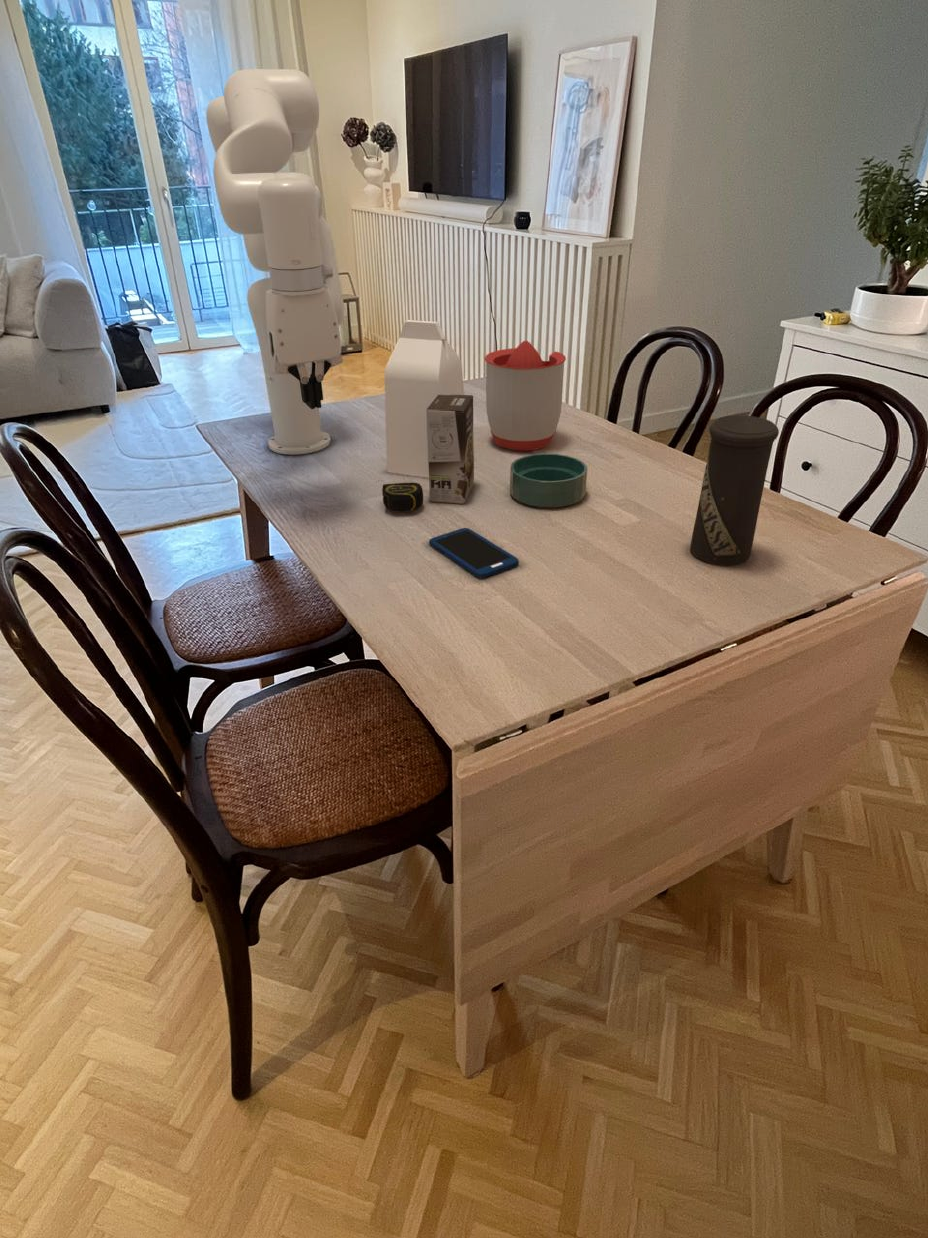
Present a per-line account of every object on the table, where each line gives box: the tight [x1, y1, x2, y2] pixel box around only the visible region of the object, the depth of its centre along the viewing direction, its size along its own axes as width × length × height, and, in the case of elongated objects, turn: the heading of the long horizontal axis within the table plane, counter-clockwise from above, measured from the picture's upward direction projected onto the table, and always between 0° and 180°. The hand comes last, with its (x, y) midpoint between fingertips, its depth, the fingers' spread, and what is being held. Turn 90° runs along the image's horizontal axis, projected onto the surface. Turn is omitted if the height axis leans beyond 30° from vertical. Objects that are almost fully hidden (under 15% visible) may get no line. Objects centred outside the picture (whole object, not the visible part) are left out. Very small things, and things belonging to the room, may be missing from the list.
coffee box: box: [426, 394, 475, 505], centre depth 124 cm, size 9×6×16 cm
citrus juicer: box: [484, 340, 567, 452], centre depth 144 cm, size 16×17×20 cm
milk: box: [384, 319, 465, 479], centre depth 132 cm, size 12×12×26 cm
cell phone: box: [428, 527, 520, 579], centre depth 108 cm, size 7×14×1 cm, turn 35°
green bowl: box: [509, 453, 588, 508], centre depth 125 cm, size 13×13×5 cm
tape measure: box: [381, 482, 424, 513], centre depth 122 cm, size 7×7×4 cm
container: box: [689, 414, 780, 566], centre depth 102 cm, size 9×9×20 cm
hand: (313, 405), depth 114 cm, fingers closed
